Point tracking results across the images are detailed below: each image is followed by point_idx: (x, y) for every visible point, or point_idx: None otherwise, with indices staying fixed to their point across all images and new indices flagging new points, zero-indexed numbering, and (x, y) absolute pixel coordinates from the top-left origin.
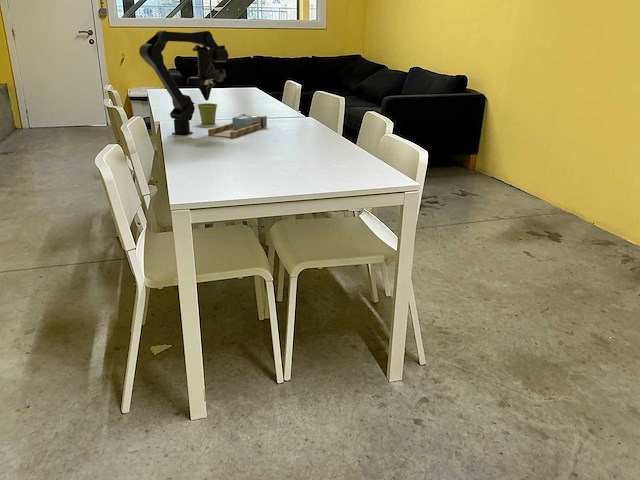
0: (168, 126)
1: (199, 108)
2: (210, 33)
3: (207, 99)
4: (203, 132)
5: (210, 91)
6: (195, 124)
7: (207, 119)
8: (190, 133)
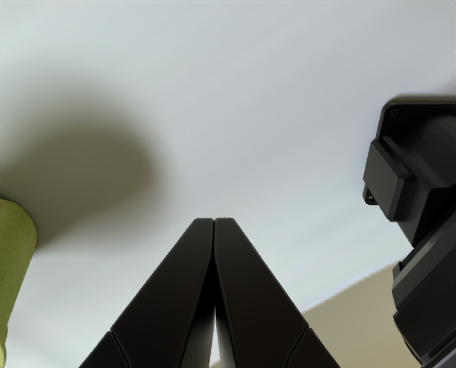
0: None
1: (4, 342)
2: None
3: (232, 224)
4: (310, 56)
5: (100, 354)
6: (87, 263)
7: (10, 230)
8: (422, 102)
